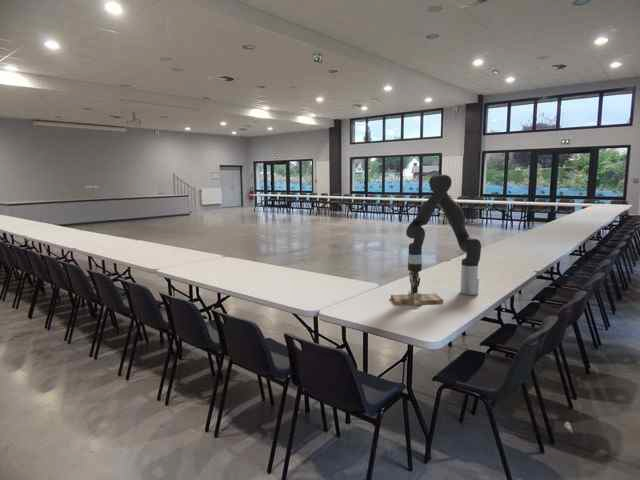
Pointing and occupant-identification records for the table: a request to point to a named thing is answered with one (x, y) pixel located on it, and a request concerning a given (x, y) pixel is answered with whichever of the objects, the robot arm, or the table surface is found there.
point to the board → (409, 300)
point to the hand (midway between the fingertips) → (414, 292)
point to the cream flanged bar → (415, 296)
